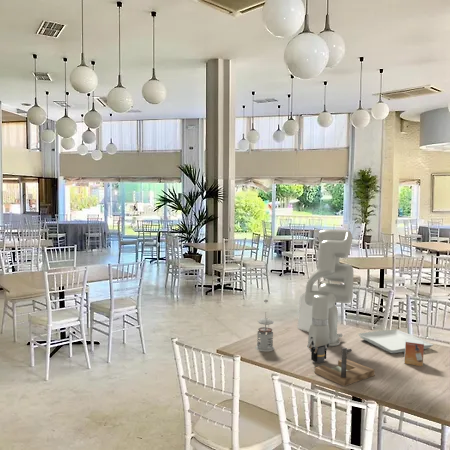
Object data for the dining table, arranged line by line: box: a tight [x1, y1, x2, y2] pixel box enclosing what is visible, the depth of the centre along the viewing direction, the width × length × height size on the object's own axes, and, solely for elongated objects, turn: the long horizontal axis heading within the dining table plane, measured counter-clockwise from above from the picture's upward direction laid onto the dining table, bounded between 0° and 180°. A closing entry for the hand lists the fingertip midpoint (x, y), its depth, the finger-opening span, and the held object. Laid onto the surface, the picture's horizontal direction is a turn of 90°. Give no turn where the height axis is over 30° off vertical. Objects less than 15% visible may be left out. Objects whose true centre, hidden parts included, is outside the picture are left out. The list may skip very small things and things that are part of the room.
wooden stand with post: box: [314, 347, 376, 387], centre depth 194 cm, size 20×16×14 cm
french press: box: [255, 299, 275, 352], centre depth 226 cm, size 10×12×25 cm
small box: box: [403, 339, 425, 367], centre depth 208 cm, size 8×6×10 cm
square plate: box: [357, 329, 434, 354], centre depth 235 cm, size 27×27×4 cm
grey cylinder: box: [312, 346, 325, 364], centre depth 209 cm, size 5×5×7 cm
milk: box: [296, 283, 319, 333], centre depth 259 cm, size 12×12×26 cm
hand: (318, 359), depth 209 cm, fingers closed on grey cylinder, 5 cm apart
